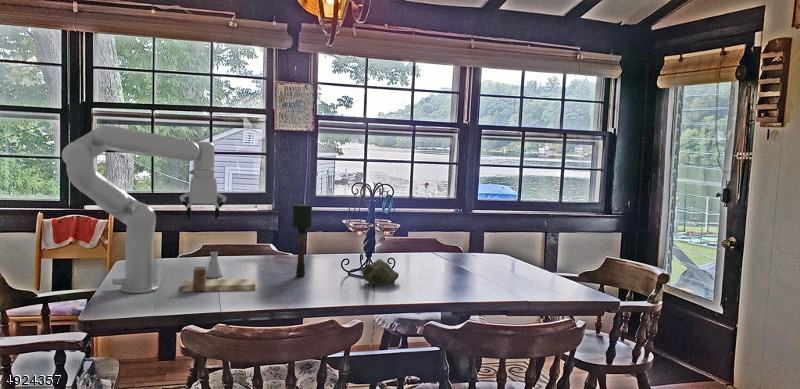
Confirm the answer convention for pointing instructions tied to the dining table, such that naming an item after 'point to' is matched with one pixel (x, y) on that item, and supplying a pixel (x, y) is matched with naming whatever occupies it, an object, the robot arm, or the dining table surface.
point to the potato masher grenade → (301, 231)
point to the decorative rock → (379, 273)
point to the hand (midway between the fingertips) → (203, 218)
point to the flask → (214, 267)
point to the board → (222, 285)
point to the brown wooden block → (199, 279)
